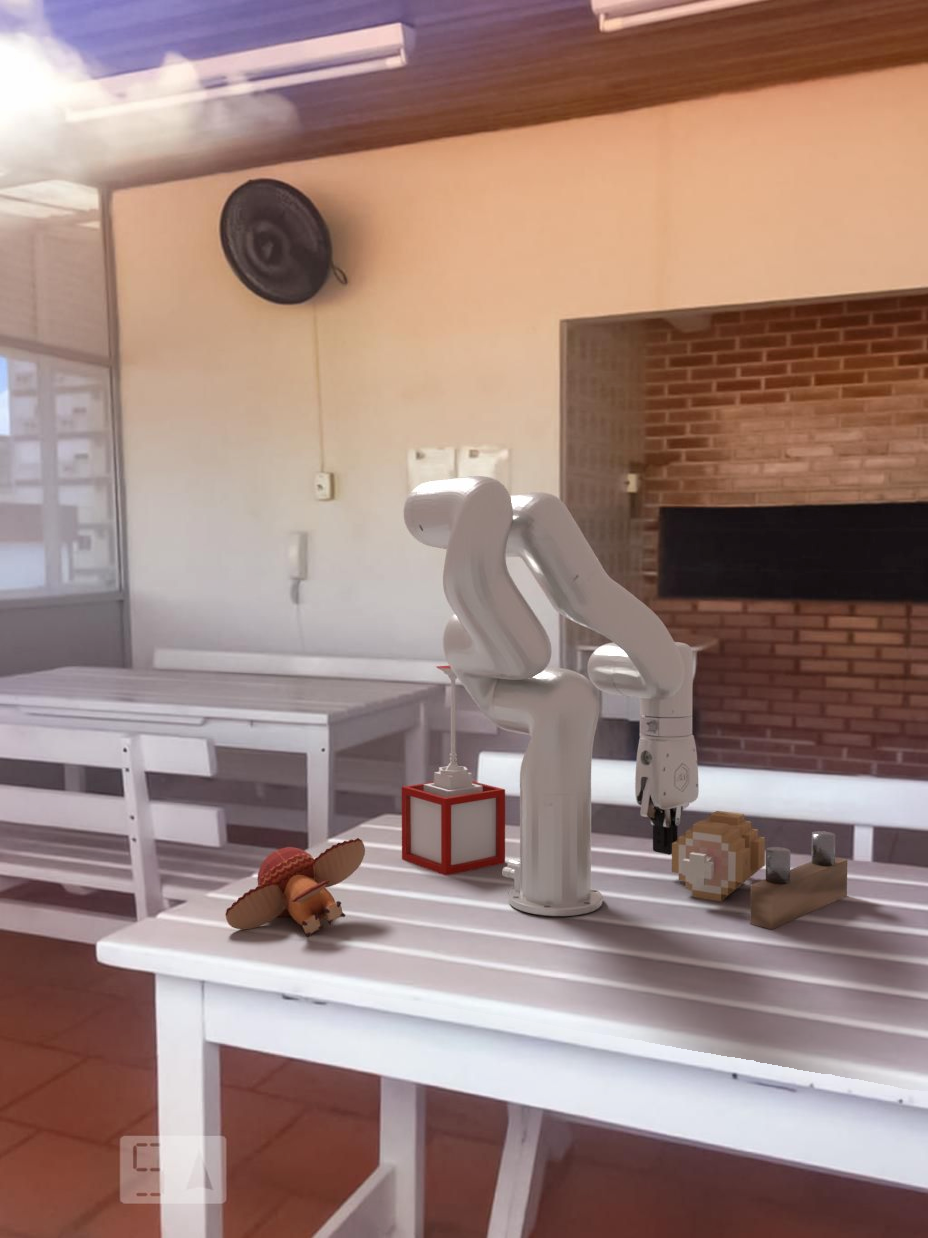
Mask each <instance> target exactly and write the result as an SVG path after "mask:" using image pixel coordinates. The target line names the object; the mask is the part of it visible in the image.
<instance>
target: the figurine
mask: <svg viewBox="0 0 928 1238" xmlns="http://www.w3.org/2000/svg"><path fill="white" fill-rule="evenodd" d="M365 852H366V848H365V844H364V841H363V840H362V839H361V838H359V837H357V838H356V839H349V840H344V841H342V842H338V843H336V844H332V846H330V847H329V848H326V849H325V851H324V852H320V854H319V855H318V856H317V857H315V858H314V857H313V856H312V855H311V854H310V853H308V852H307V851H305V850H303V849H302V848H297V847H294V846H293V847H292V846H286V847H282V848H280V849H276V850H274V851H272V852H271V853H270V854H268V856H266V858H264V860H263V861H262V863H261V865H260V866H259V870H258V871H257V886H256V887H255V888H252V889H249V890H248V891H247V892H244V894H243V895H242V896H239V897H238V898H237V900H236V901H234V902H233V903H232V904H231V906H230V907H228V908H226V911H225V919H226V922H227V924H228V925H229V926H230V927H231V928H233V929H236V930H241V931H242V930H244V931H245V930H249V929H250V930H252V929H255V928H258V927H261V926H265V925H266V924H268V923H270V922H272V921H274V920H275V919H276V918H277V917H280V918H281V917H282V918H283V917H289V916H291V918H292V919H293V920H294V922H296V923H297V924H298V925H300V926H302V928H303V931H304V933H305V936H306V938H309V937H310V936H311V935H312V934H313V933H314V932H316V931H318V930H321V931H322V930H323V929H324V927H323V925H321V921H323V920H324V919H325V918H326V920H327V923H328V925H330V926H331V925H332V923H333V922H334V921H336V920H337V919H340V918H345V917H346V914H345V913H344V912H343V907H342V902H341V901H336V900H335V897H334V896H333V894H331V892H330V891H329V890H328V889H327V888H330V887H334V886H335V885H338V884H340V883H342V882H343V881H345V880H346V879H348V878H350V876H352V875H353V874H354V873H355V872H356V871H357V870H358V868H359V867H360V866H361V865H362V862H363V860H364V858H365V854H366V853H365Z"/></svg>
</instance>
